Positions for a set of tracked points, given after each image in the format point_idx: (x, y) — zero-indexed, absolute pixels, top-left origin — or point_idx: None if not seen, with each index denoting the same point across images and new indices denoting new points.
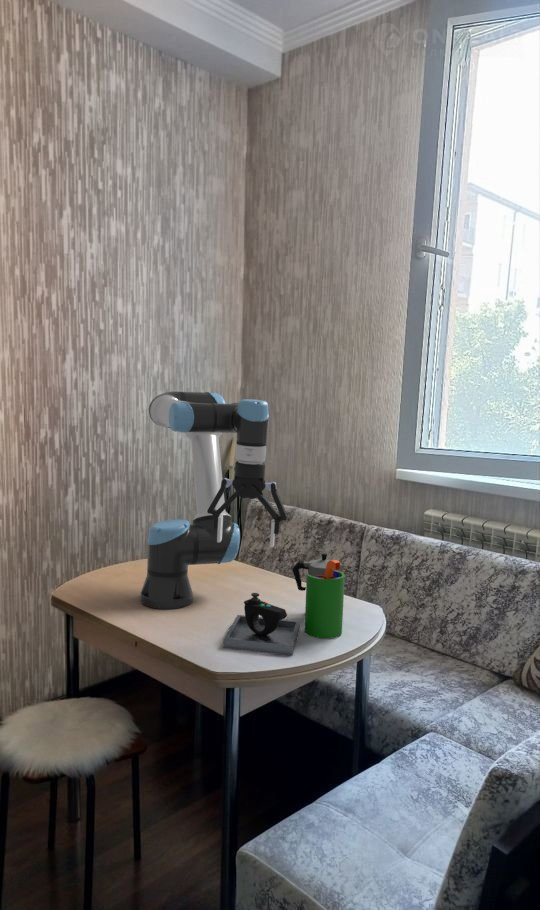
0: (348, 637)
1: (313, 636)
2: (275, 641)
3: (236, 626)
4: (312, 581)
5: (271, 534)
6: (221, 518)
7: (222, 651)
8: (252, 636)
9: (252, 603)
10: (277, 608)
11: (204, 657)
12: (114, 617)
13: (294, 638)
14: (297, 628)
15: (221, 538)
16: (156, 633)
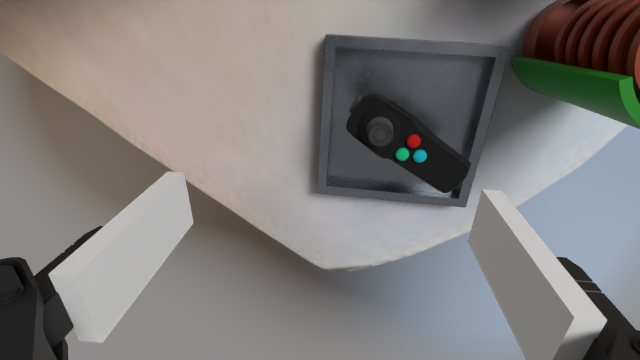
0: None
1: (529, 87)
2: None
3: (332, 100)
4: (621, 115)
5: (500, 297)
6: (104, 322)
7: (319, 197)
8: None
9: (372, 145)
10: (446, 163)
11: (293, 224)
12: (42, 58)
13: (474, 170)
14: (491, 106)
15: (180, 190)
16: (170, 134)
